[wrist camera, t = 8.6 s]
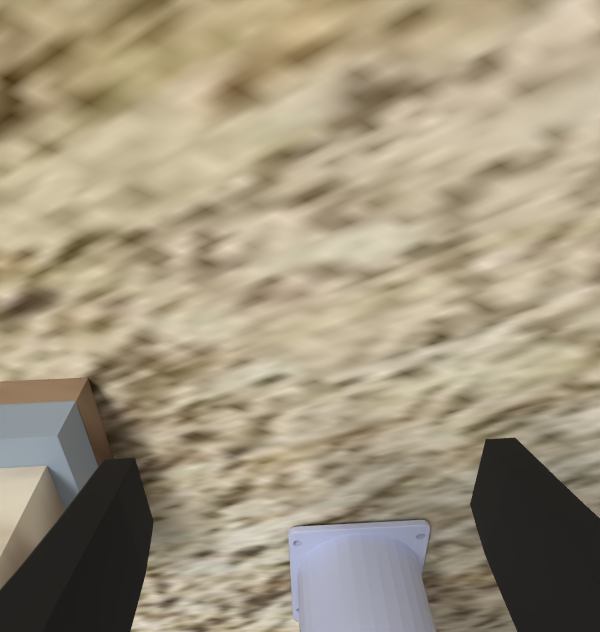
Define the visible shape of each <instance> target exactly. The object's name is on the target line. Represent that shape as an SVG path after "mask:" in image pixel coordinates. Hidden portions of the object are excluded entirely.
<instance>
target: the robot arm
mask: <svg viewBox="0 0 600 632" xmlns="http://www.w3.org/2000/svg"><path fill="white" fill-rule="evenodd" d="M470 505H471V509H472V512H473V516H474V519H475V523H476V526H477V530H478V533H479V536H480V540H481V543H482V546H483V549H484V553H485V555H486V558H487V560H488V563H489V565H490V568H491V570H492V572H493V575H494V577H495V580H496V582H497V584H498V587H499V589H500V592H501V594H502V596H503V599H504V601H505V603H506V606H507V608H508V610H509V613H510V615H511V618H512V620H513V622H514V625H515V627H516V629H517V632H600V518H599V517H598V516H597V515H595V514H594V513H593V512H592V511H591V510H590V509H589V508H588V507H587V506H586V505H585V504H584V503H582V502H581V501H580V500H579V499H578V498H577V497H576V496H575V495H574V494H573V493H572V492H571V491H570V490H569V489H568V488H567V487H566V486H565V485H564V484H562V483H561V482H560V481H559V480H558V479H557V478H556V477H555V476H554V475H553V474H552V473H551V472H550V471H549V470H548V469H547V468H546V467H545V466H544V465H543V464H542V463H541V462H540V461H539V460H538V459H537V458H536V457H535V456H534V455H532V454H531V453H530V452H529V451H528V450H527V449H526V448H525V447H524V446H523V445H522V444H521V443H520V442H519V441H518V440H517V439H516V438H501V439H486V441H485V445H484V449H483V453H482V457H481V461H480V466H479V470H478V474H477V478H476V482H475V486H474V491H473V495H472V499H471V503H470ZM152 529H153V519H152V515H151V512H150V508H149V505H148V502H147V498H146V495H145V491H144V488H143V484H142V481H141V478H140V474H139V471H138V467H137V464H136V460H135V458H126V459H107V460H104V461H103V462H102V463H101V464H100V465H99V466H98V468H97V469H96V470H95V472H94V473H93V474H92V476H91V477H90V478H89V480H88V481H87V482H86V484H85V485H84V486H83V488H82V489H81V490H80V492H79V493H78V494H77V495H76V497H75V498H74V499H73V501H72V502H71V503H70V505H69V506H68V507H67V509H66V510H65V511H64V512H63V514H62V515H61V516H60V518H59V519H58V520H57V521H56V523H55V524H54V525H53V527H52V528H51V529H50V530H49V531H48V533H47V534H46V535H45V536H44V538H43V539H42V540H41V541H40V543H39V544H38V545H37V546H36V548H35V549H34V550H33V551H32V553H31V554H30V555H29V556H28V557H27V559H26V560H25V561H24V562H23V564H22V565H21V566H20V567H19V568H18V570H17V571H16V572H15V573H14V574H13V575H12V576H11V578H10V579H9V580H8V581H7V582H6V583H5V585H4V586H3V587H2V588H1V589H0V632H130V630H131V627H132V623H133V619H134V616H135V612H136V608H137V604H138V601H139V597H140V593H141V589H142V585H143V582H144V578H145V574H146V568H147V562H148V556H149V549H150V543H151V536H152ZM429 534H430V526H429V523H428V522H427V521H425V520H406V521H388V522H370V523H352V524H333V525H315V526H297V527H293V528H291V529H290V530H289V532H288V537H289V555H290V572H291V589H292V606H293V619H294V620H295V621H297V622H299V626H300V632H436V629H435V626H434V622H433V618H432V614H431V611H430V607H429V603H428V599H427V595H426V592H425V588H424V584H423V580H422V571H423V566H424V561H425V555H426V550H427V545H428V539H429Z"/></svg>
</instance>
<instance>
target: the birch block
mask: <svg viewBox="0 0 600 632" xmlns="http://www.w3.org/2000/svg"><path fill="white" fill-rule="evenodd" d="M65 510H66V509H65V507H64V504H63V502H62V500H61V498H60V495H59V493H58V491H57V488H56V486H55V484H54V481H53V479H52V477H51V474H50V472H49V470H48V468H47V466H32V467H14V468H0V589H1V588H2V587H3V586H4V585H5V583H6V582H7V581H8V580H9V579H10V578H11V576H12V575H13V574H14V573H15V572H16V571H17V570H18V568H19V567H20V566H21V565H22V564H23V562H24V561H25V560H26V559H27V557H28V556H29V555H30V554H31V553H32V551H33V550H34V549H35V548H36V546H37V545H38V544H39V543H40V541H41V540H42V539H43V538H44V536H45V535H46V534H47V533H48V531H49V530H50V529H51V528H52V527H53V525H54V524H55V523H56V521H57V520H58V519H59V518H60V516H61V515H62V514H63V512H64V511H65Z"/></svg>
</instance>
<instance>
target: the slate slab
mask: <svg viewBox="0 0 600 632" xmlns="http://www.w3.org/2000/svg"><path fill="white" fill-rule="evenodd" d="M32 466H47V468H48V470H49V472H50V474H51V477H52V479H53V481H54V484H55V486H56V488H57V491H58V493H59V495H60V498H61V500H62V502H63V504H64V507H65V509H67V507H68V506H69V505H70V503H71V502H72V501H73V499H74V498H75V497H76V495H77V494H78V493H79V492H80V490H81V489H82V488H83V486H84V485H85V484H86V482H87V481H88V480H89V478H90V477H91V476H92V474H93V473H94V472H95V470H96V469H97V468H98V465H97V462H96V459H95V456H94V453H93V450H92V447H91V445H90V442H89V439H88V436H87V433H86V430H85V427H84V424H83V422H82V419H81V416H80V413H79V410H78V407H77V404H76V401H67V402H47V403H27V404H7V405H0V468H14V467H32Z"/></svg>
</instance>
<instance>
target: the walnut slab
mask: <svg viewBox="0 0 600 632" xmlns="http://www.w3.org/2000/svg"><path fill="white" fill-rule="evenodd" d="M67 401H76V404H77V407H78V410H79V413H80V416H81V419H82V422H83V424H84V427H85V430H86V433H87V436H88V439H89V442H90V445H91V447H92V450H93V453H94V456H95V459H96V462H97V465H98V466H99V465H100V464H101V463H102V462H103V461H104V460H107V459H114V458H113V455H112V452H111V449H110V446H109V443H108V439H107V436H106V433H105V430H104V427H103V424H102V420H101V417H100V414H99V411H98V408H97V405H96V401H95V398H94V395H93V392H92V389H91V386H90V382H89V379H88V378H71V379H48V380H26V381H3V382H0V405H7V404H27V403H47V402H67Z"/></svg>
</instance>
